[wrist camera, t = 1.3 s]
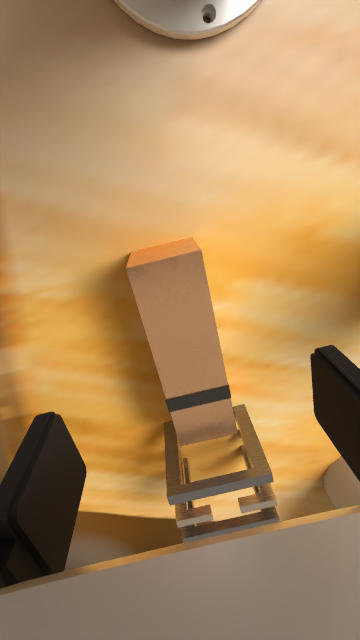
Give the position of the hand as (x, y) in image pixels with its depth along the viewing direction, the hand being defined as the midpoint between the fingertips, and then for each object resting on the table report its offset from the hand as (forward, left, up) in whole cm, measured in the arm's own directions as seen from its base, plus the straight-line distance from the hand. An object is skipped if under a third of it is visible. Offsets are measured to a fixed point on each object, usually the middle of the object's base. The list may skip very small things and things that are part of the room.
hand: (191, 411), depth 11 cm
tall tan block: (+5, 0, -16) cm, 17 cm away
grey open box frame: (+18, 0, -16) cm, 24 cm away
